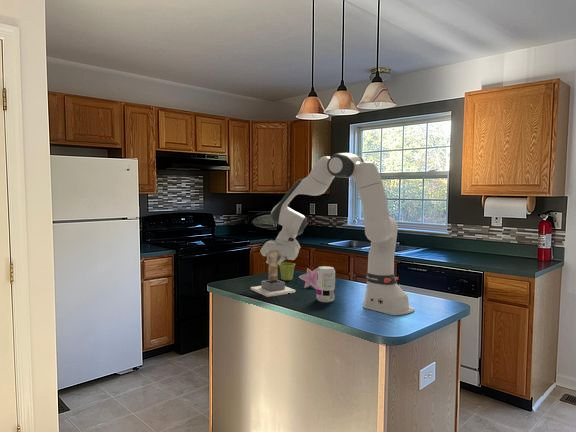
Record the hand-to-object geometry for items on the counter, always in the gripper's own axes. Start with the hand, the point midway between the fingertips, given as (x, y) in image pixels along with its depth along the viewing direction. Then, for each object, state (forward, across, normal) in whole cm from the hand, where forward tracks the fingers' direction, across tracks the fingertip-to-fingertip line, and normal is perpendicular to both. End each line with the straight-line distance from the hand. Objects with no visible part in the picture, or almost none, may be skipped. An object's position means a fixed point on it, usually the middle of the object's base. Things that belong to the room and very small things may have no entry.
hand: (272, 263), depth 203 cm
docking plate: (+9, 0, +10) cm, 14 cm away
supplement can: (+8, +29, +11) cm, 32 cm away
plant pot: (-8, -9, +28) cm, 31 cm away
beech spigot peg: (+5, 0, +6) cm, 8 cm away
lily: (-4, +11, +24) cm, 27 cm away
